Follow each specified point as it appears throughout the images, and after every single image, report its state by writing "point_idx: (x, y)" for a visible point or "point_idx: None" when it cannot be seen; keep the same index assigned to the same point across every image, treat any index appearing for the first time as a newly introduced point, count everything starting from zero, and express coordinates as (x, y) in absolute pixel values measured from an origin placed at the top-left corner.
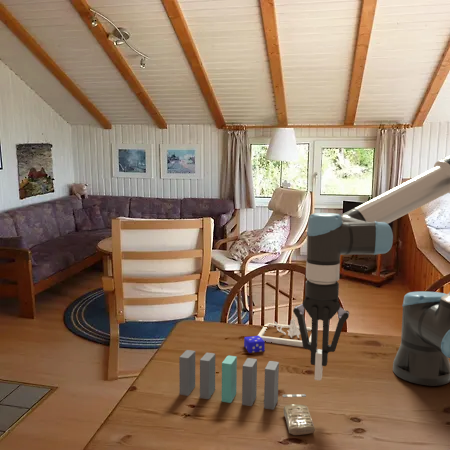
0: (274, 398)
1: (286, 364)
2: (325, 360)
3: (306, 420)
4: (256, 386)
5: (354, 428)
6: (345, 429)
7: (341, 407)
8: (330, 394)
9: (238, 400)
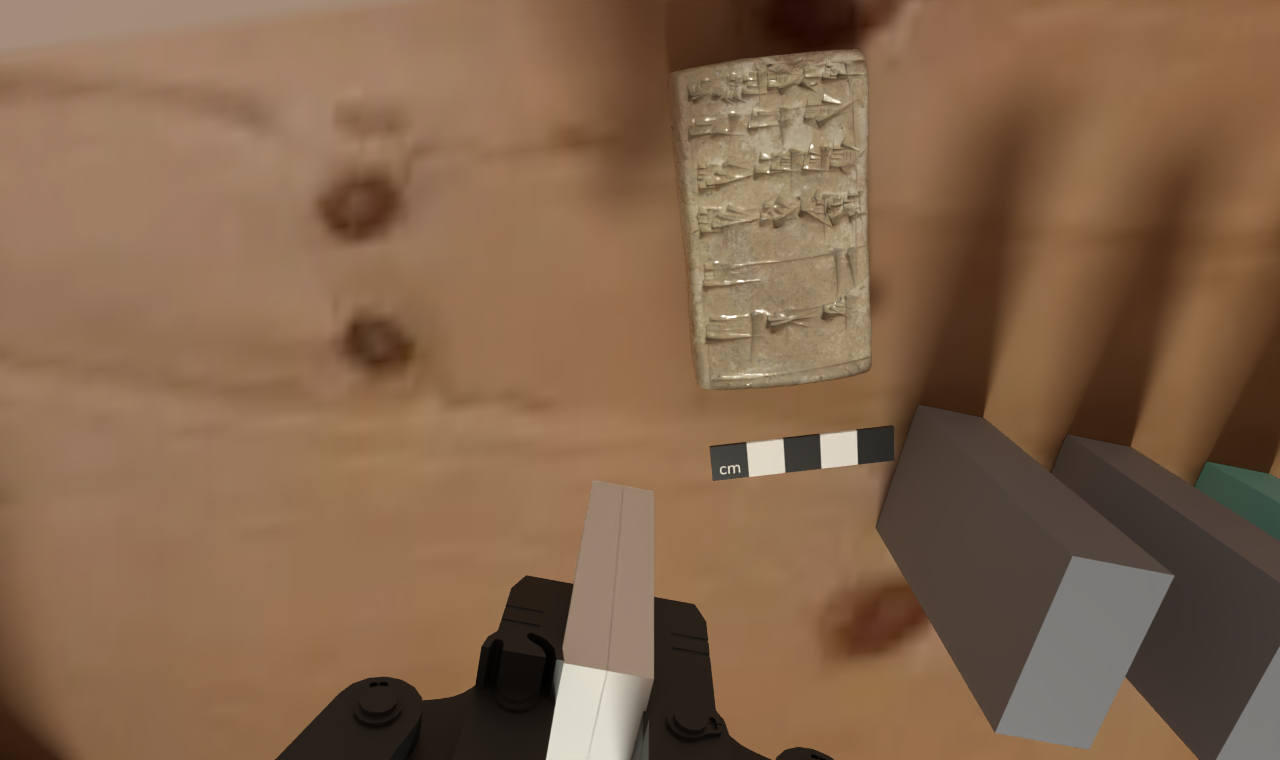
0: (940, 448)
1: None
2: (522, 619)
3: (730, 149)
4: None
5: (389, 227)
6: (450, 206)
7: (460, 483)
8: None
9: None
